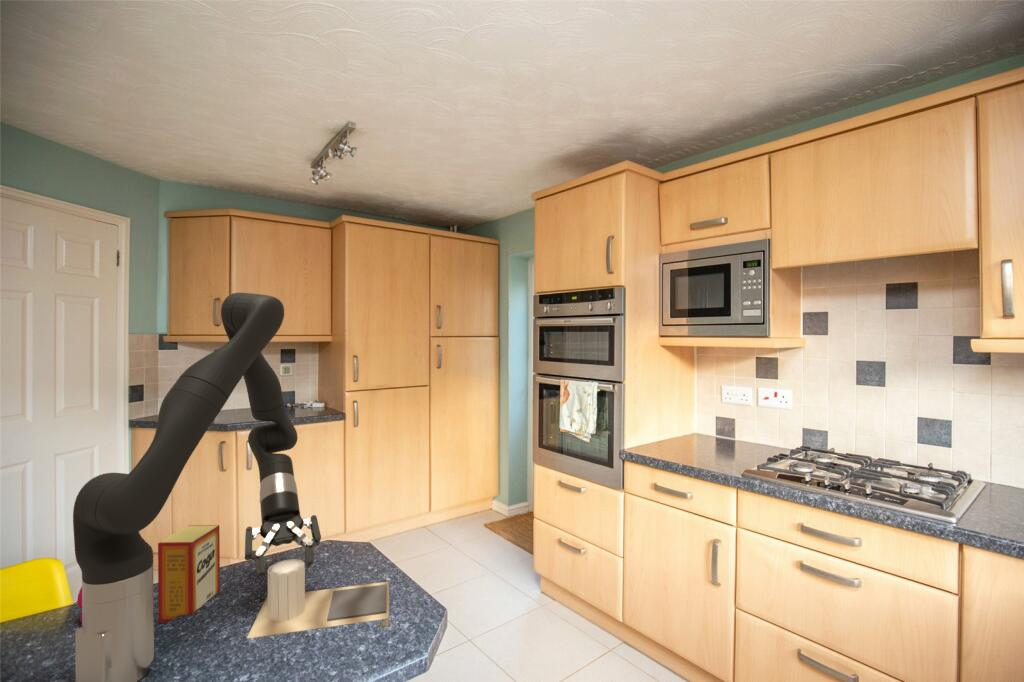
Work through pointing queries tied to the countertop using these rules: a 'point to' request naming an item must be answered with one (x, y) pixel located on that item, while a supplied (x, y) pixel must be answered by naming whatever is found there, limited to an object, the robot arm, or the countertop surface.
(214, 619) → the countertop surface
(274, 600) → the cover cup
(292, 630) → the board
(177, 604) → the red cream cardboard box
